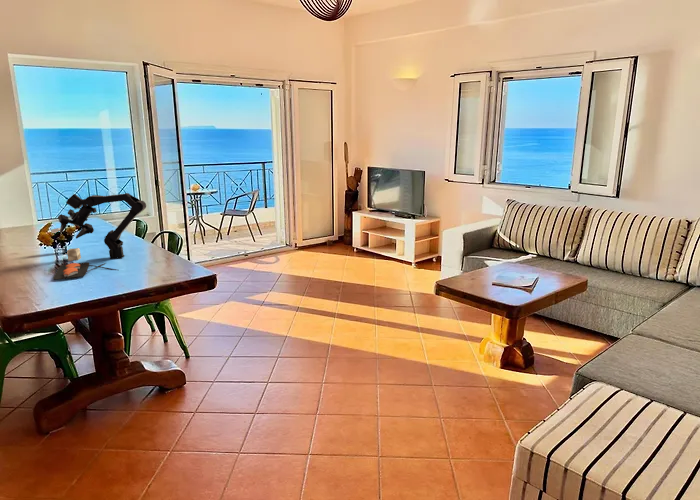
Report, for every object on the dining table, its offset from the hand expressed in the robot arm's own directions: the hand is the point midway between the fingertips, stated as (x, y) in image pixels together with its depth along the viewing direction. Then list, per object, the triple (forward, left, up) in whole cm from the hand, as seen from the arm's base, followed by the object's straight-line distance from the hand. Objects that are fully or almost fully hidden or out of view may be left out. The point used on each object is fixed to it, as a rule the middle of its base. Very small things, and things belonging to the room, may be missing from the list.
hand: (68, 235), depth 274 cm
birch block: (-1, -1, -14) cm, 15 cm away
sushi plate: (-18, +26, -15) cm, 35 cm away
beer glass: (+13, -19, -15) cm, 27 cm away
